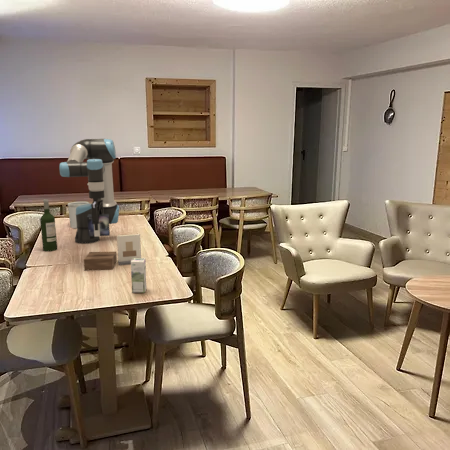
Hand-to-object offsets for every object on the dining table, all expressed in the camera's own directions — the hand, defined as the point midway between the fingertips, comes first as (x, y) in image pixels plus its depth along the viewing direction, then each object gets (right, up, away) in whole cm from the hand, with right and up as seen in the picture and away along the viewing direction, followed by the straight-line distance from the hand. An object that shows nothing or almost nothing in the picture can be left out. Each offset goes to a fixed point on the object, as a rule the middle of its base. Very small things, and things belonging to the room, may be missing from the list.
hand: (99, 234), depth 226 cm
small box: (0, -1, 0) cm, 1 cm away
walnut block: (0, -17, +4) cm, 17 cm away
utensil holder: (-41, +4, +96) cm, 104 cm away
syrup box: (+27, -25, -32) cm, 48 cm away
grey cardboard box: (+14, -15, +9) cm, 23 cm away
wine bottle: (-39, -10, +34) cm, 53 cm away
